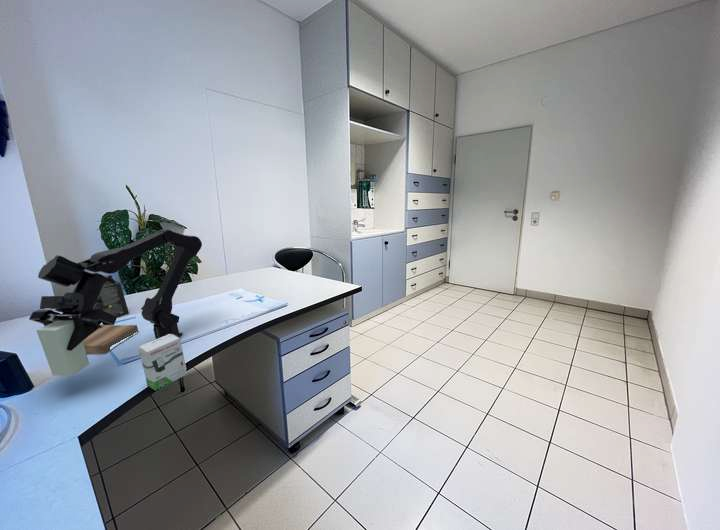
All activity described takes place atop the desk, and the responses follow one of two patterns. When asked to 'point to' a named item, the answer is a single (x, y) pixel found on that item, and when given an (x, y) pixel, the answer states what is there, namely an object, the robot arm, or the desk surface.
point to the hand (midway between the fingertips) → (58, 350)
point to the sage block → (62, 349)
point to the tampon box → (113, 300)
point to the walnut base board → (107, 338)
